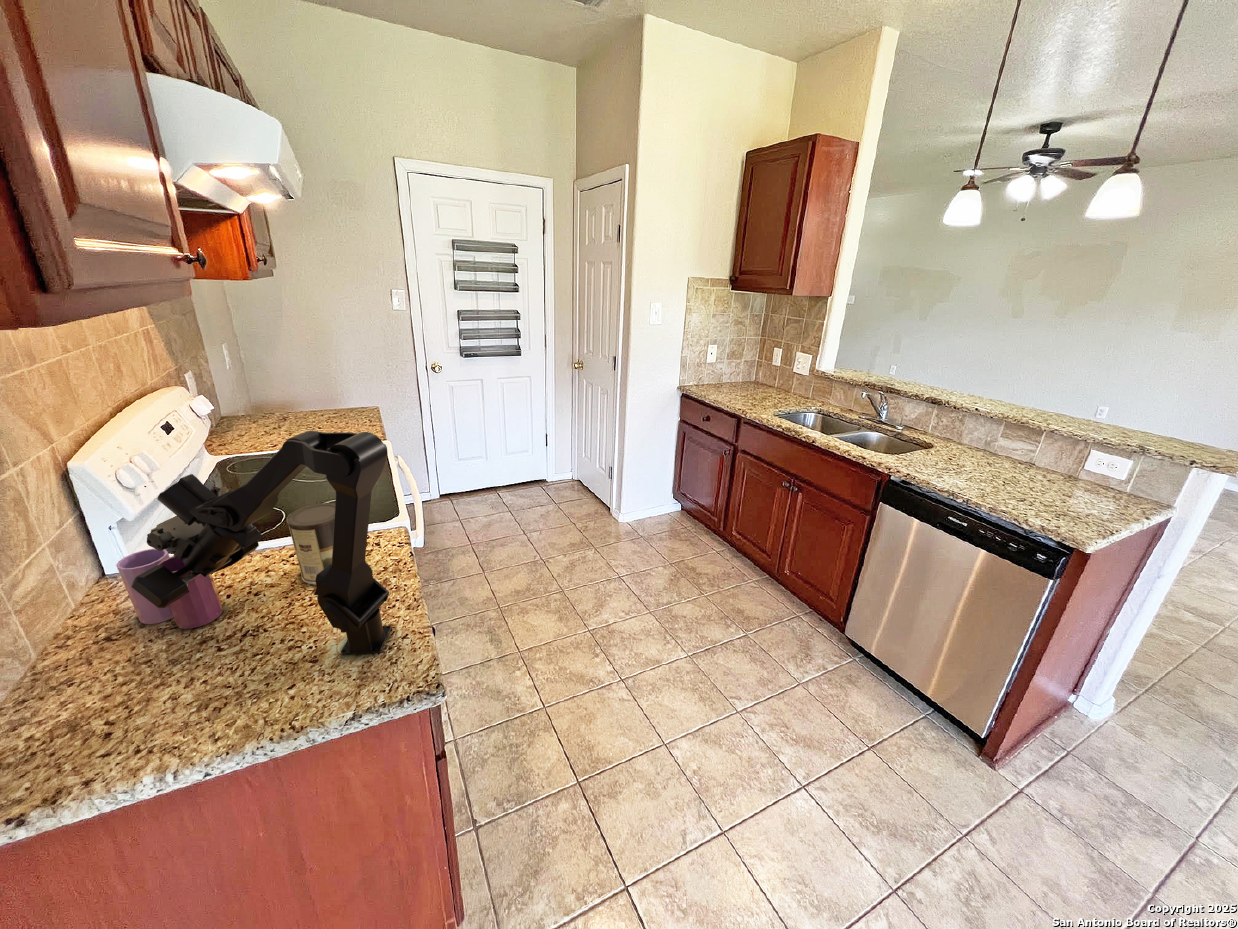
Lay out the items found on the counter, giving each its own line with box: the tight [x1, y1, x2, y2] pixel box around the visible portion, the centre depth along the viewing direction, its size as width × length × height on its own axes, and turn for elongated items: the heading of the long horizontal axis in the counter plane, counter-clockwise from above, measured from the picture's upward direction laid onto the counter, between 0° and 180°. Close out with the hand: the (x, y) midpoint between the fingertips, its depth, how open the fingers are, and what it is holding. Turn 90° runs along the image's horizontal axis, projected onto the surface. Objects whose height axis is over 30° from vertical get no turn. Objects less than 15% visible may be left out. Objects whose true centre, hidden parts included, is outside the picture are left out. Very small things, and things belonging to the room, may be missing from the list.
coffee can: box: [285, 502, 335, 586], centre depth 104 cm, size 10×10×14 cm
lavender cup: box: [115, 548, 174, 625], centre depth 91 cm, size 7×7×12 cm
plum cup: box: [156, 555, 224, 630], centre depth 89 cm, size 7×7×12 cm
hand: (183, 586), depth 89 cm, fingers closed on plum cup, 7 cm apart
